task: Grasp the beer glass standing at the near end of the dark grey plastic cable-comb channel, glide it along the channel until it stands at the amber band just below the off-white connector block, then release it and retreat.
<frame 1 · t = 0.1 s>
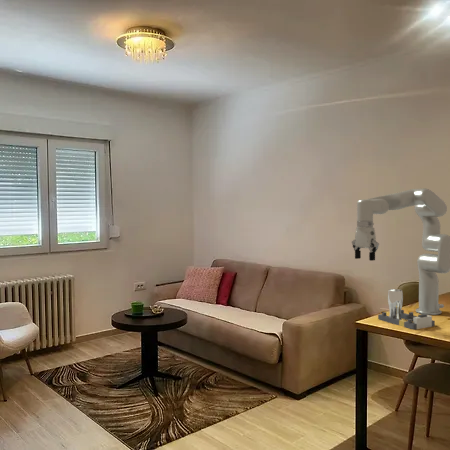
hand: (364, 259, 221), 31 cm above the table, fingers open, 9 cm apart
beer glass: (395, 320, 226), on the table
cable comb: (405, 322, 220), on the table
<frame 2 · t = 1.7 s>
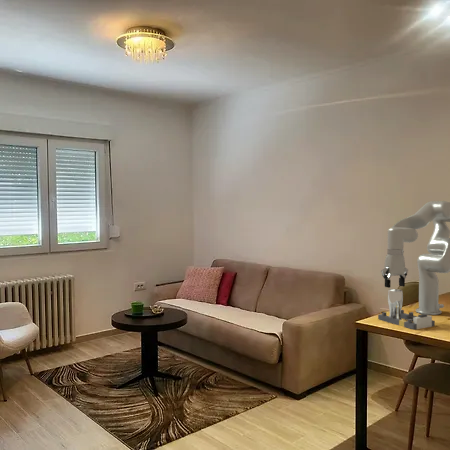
hand: (394, 286, 225), 17 cm above the table, fingers open, 9 cm apart
nothing on the table moved.
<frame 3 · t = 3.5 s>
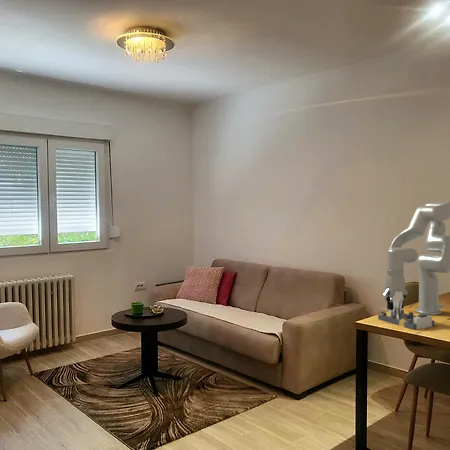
hand: (395, 308, 226), 6 cm above the table, fingers closed on beer glass, 6 cm apart
beer glass: (395, 320, 226), on the table, touching gripper
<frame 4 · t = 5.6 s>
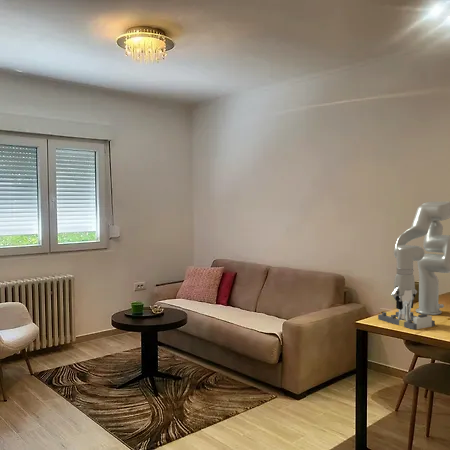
hand: (404, 308, 221), 7 cm above the table, fingers closed on beer glass, 6 cm apart
beer glass: (404, 319, 221), point 1 cm above the table, touching gripper
when the fingers open (6 cm above the table, at t = 7.7 s): beer glass stays where it is, on the table.
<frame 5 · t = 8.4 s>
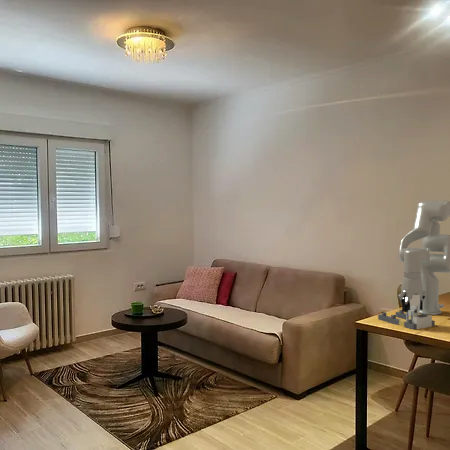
hand: (412, 310, 217), 7 cm above the table, fingers open, 9 cm apart
beer glass: (412, 324, 217), on the table
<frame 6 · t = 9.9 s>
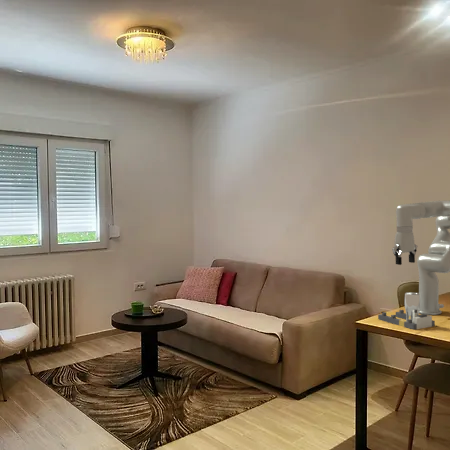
hand: (405, 263, 228), 28 cm above the table, fingers open, 9 cm apart
nothing on the table moved.
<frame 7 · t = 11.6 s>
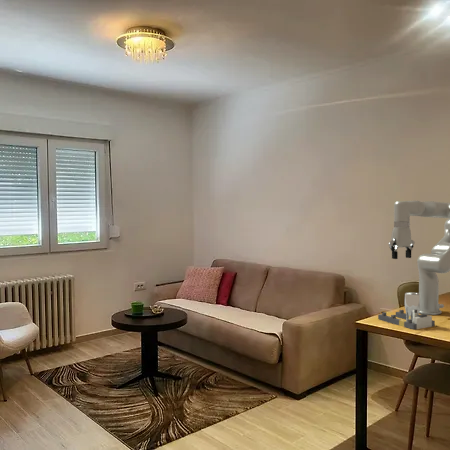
hand: (401, 258, 232), 30 cm above the table, fingers open, 9 cm apart
nothing on the table moved.
at the end: beer glass 0.2 cm from the target spot, on the table; beer glass tilted 0°; the gripper is holding nothing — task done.
